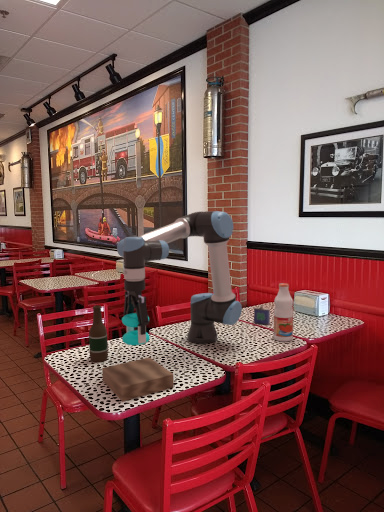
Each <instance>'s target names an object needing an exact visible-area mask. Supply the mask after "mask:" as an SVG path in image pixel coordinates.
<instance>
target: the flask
mask: <svg viewBox="0 0 384 512" xmlns="http://www.w3.org/2000/svg"><path fill="white" fill-rule="evenodd" d="M270 312H271V310H270V308H264V305H260V306H257V307H254V308H253V324H254V325H255V324H256V325H263V326H269V325H271V323H270V316H271V313H270Z"/></svg>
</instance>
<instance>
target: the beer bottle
mask: <svg viewBox="0 0 384 512" xmlns="http://www.w3.org/2000/svg"><path fill="white" fill-rule="evenodd" d="M92 310H93V315H92V316H93V317H92V318H93V319H92V325H91V327H90V328H89V331H88V346H89V347H88V348H89V360H90V362H92V363H103V362H105V361H107V359H108V357H109V348H108V347H109V346H108V330H107V327H106V326H105V325H104V323H103V318H102V306H101V305H99V304H97V305H93V306H92Z"/></svg>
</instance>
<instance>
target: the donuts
mask: <svg viewBox="0 0 384 512" xmlns="http://www.w3.org/2000/svg"><path fill="white" fill-rule="evenodd" d="M148 321H149V322H150V317H149V316H148ZM121 322H122V324H123V325H124V326H126V327H127V326H128V327H134V328H138V326H137V325H138V324H139V322H138V318H137V314H136V312H133V313H131V314H127V315H123V317H121ZM150 336H151V335H149V333H148V332H147V331H146V342H145V343H140V344H139V343H138V329H134V331H129V332H127V331H126V333H124V334H123V335H122V337H121V338H122V341H123V344H125V345H127V346H142V345H144V344H147V343H148V342H149V341H150V338H151V337H150Z"/></svg>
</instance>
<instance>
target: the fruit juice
mask: <svg viewBox="0 0 384 512" xmlns="http://www.w3.org/2000/svg"><path fill="white" fill-rule="evenodd" d="M289 288H290V284H289V283H284V282H281V283H279V284H278V292H277V295H276V296H275V298H274V301H273V302H274V310H273V339H274V340H275V341H278V342H291V341H292V340H293V338H294V311H293V305H294V300H293V298H292V295H291V293H290V291H289Z"/></svg>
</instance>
